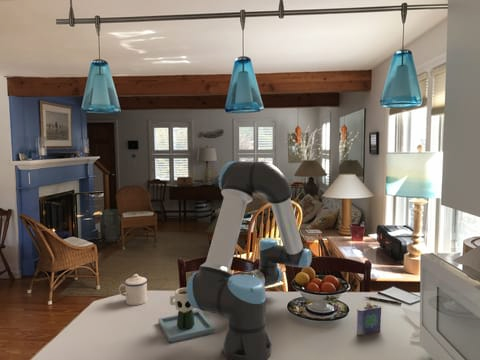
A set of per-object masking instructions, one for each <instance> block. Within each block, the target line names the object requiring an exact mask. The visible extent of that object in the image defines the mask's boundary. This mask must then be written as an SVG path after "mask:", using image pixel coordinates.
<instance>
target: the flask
mask: <svg viewBox="0 0 480 360" xmlns="http://www.w3.org/2000/svg"><path fill="white" fill-rule="evenodd" d="M356 313H357V315H356V316H357V319H356V323H357V324H356V325H357V326H356V334H357V335H358V336H366V335H372V334H375V333H376V334H378V333H380V332H381V321H382V306H380V305H378V304H371V302H370V301H366V305H365V306H362V307H359V308H357V312H356Z"/></svg>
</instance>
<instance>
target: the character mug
mask: <svg viewBox="0 0 480 360" xmlns="http://www.w3.org/2000/svg"><path fill="white" fill-rule="evenodd" d="M173 299H174V300H175V301H174V300H173ZM169 305H171V306H175V309H176V310H177V311H178V312H177V315H178V318H177V327H179V328H182V329H183V326H186V329H187V328H191V327H193V326H194V324H195V323H194V316H193V312H194V309H195V308H194V307H193V306H191V304H190V303H189V301H188V298H187V287H181V288H178V289H176V290H175V291H174V295H169Z"/></svg>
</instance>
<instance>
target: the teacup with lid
mask: <svg viewBox="0 0 480 360" xmlns="http://www.w3.org/2000/svg"><path fill="white" fill-rule="evenodd" d="M122 287H125V293H124V292H123V291H122ZM118 292H119V294H120V295H121V296H122V297H125V302H126V304H127V305H129V306H140V305H144V304H145V303H146V302H148V280H147V278H146V277H143V276H140V275H139V274H138V273H135V274H133V275H132V276H131V277H129V278H127V279H125V281H124V283H123V284H120V285H119V287H118Z"/></svg>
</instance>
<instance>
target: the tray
mask: <svg viewBox="0 0 480 360" xmlns="http://www.w3.org/2000/svg"><path fill="white" fill-rule="evenodd" d="M193 316H194V323H195V324H194V326H193V327H191V328H187V329H186V326H183V329H182V328H179V327H177V318H178V314H176V315H169V316H164V317H160V318H158V324H159V327H160V329H161V330H162V332H163V334H164V337H166V339H167V341H168V343H169V344H171V343H176V342H180V341H185V340H189V339H193V338H199V337H204V336H207V335H210V334H212V335H213V334H215V333H216V331H215V330H216V329H215V327H214V325H213V324H212V323H211V322H210V320H208V318H207V317H206V316H205V315H204V313H203V311H201V310H196V311H193Z"/></svg>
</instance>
